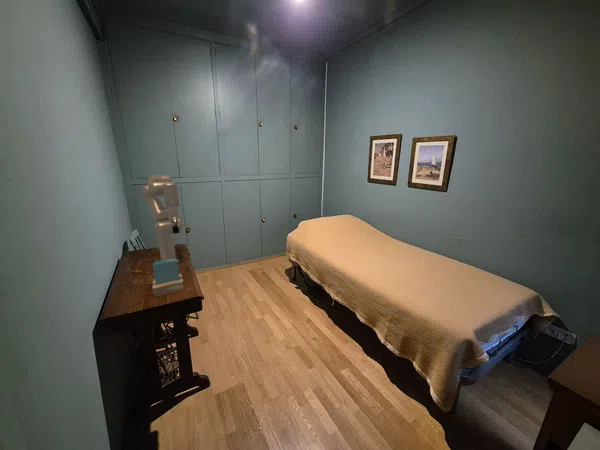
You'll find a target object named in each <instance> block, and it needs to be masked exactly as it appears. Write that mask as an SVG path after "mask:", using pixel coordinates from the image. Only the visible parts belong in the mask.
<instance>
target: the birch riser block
mask: <svg viewBox="0 0 600 450" xmlns="http://www.w3.org/2000/svg"><path fill="white" fill-rule="evenodd" d="M182 274H183V273H180V272H179V279H178V280H174V281H170V282H165V283H160V284H157V283H156V282H155V278H152V293H153V298H157V297H161V296H164V295H169V294H173V293H174V294H175V293H178V292H182V291H185V285H184V279H183V275H182Z"/></svg>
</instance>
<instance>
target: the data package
mask: <svg viewBox="0 0 600 450" xmlns="http://www.w3.org/2000/svg"><path fill="white" fill-rule="evenodd" d="M176 259H177V258H176ZM176 259H175V258H173V259H167V260H162V261H161V260H158V261H157V260H156V261H154V262H153V263H152V269H153V275H154V279H155V282H156V283H157V284H160V283H165V282H170V281H174V280H178V279H179V274H180V272H179V265H178V263H179V262H178V263H177V260H176Z"/></svg>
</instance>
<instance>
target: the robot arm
mask: <svg viewBox="0 0 600 450" xmlns="http://www.w3.org/2000/svg"><path fill="white" fill-rule="evenodd" d="M141 194H142V197H143V199H144V201H145V202H146V203H147V205H148V206H149V209H150V211H151V214H152V217H153V219H154V220H155V221H156V223H155V224H154V230H155V233H156V236H157V237H156V238H157V241H158V248H159V253H160V261H162V260H167V259H173V258H175V259H176V260H177V263H179V262H180V260H179V259H178V258H177V253H176V247H175V239H174V237H172V236H171V234H173V235H174V234H179V233H180V232H182V231H183V230H184V225H183V221H182V218H181V215H180V214H179V209H178V207H180V201H179V199H180V198H179V190H178V184H177V183H176V182H174V181H173V179H172V177H171V176H170V175H169V174H155V175H154V174H153V175H150V176H149V177H148V179H147V184H145V185H144V186H142V187H141ZM157 197H163V199H164V203H163V202H162V200H160V199H158V198H157Z"/></svg>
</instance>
